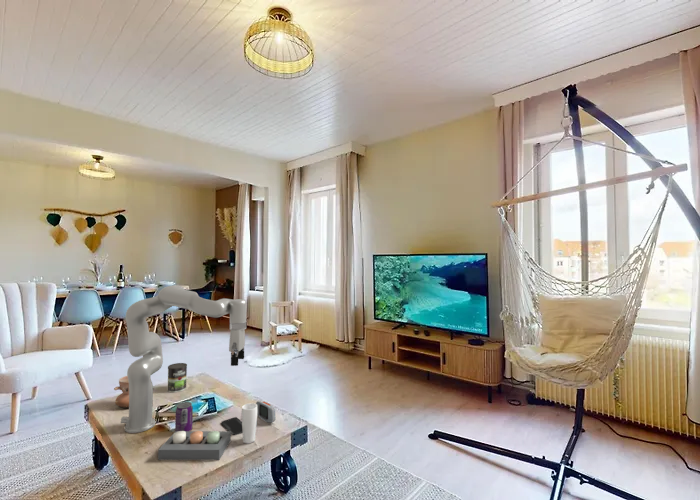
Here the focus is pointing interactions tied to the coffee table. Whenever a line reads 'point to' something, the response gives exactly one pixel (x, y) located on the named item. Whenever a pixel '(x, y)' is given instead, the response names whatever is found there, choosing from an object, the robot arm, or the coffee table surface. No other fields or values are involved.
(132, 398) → the robot arm
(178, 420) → the beverage can
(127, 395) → the ceramic jug
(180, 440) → the button ivory
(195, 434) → the button terracotta
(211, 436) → the button sage
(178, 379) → the coffee can
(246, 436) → the drinking glass
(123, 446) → the coffee table surface
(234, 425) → the phone
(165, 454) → the grey slotted block
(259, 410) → the handheld gaming console
